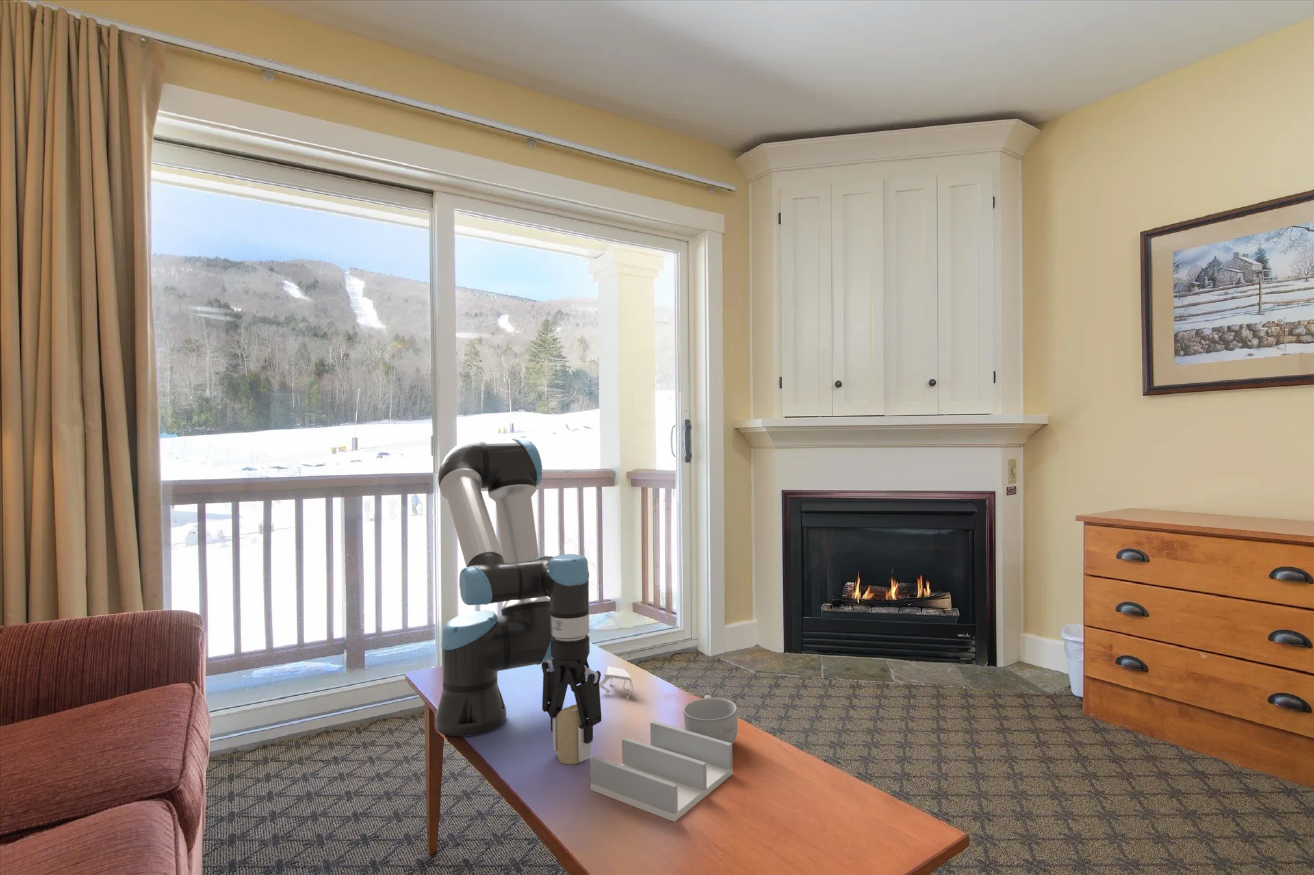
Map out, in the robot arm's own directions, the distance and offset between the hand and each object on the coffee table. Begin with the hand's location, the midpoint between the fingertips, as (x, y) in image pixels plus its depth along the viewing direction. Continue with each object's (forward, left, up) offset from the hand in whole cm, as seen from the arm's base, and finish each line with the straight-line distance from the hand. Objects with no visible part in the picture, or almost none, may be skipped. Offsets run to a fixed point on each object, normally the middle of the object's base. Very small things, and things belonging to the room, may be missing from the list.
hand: (571, 753), depth 136 cm
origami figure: (-14, +31, -1) cm, 34 cm away
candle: (0, 0, -1) cm, 1 cm away
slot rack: (+20, +3, -1) cm, 20 cm away
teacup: (+19, +21, -1) cm, 28 cm away
